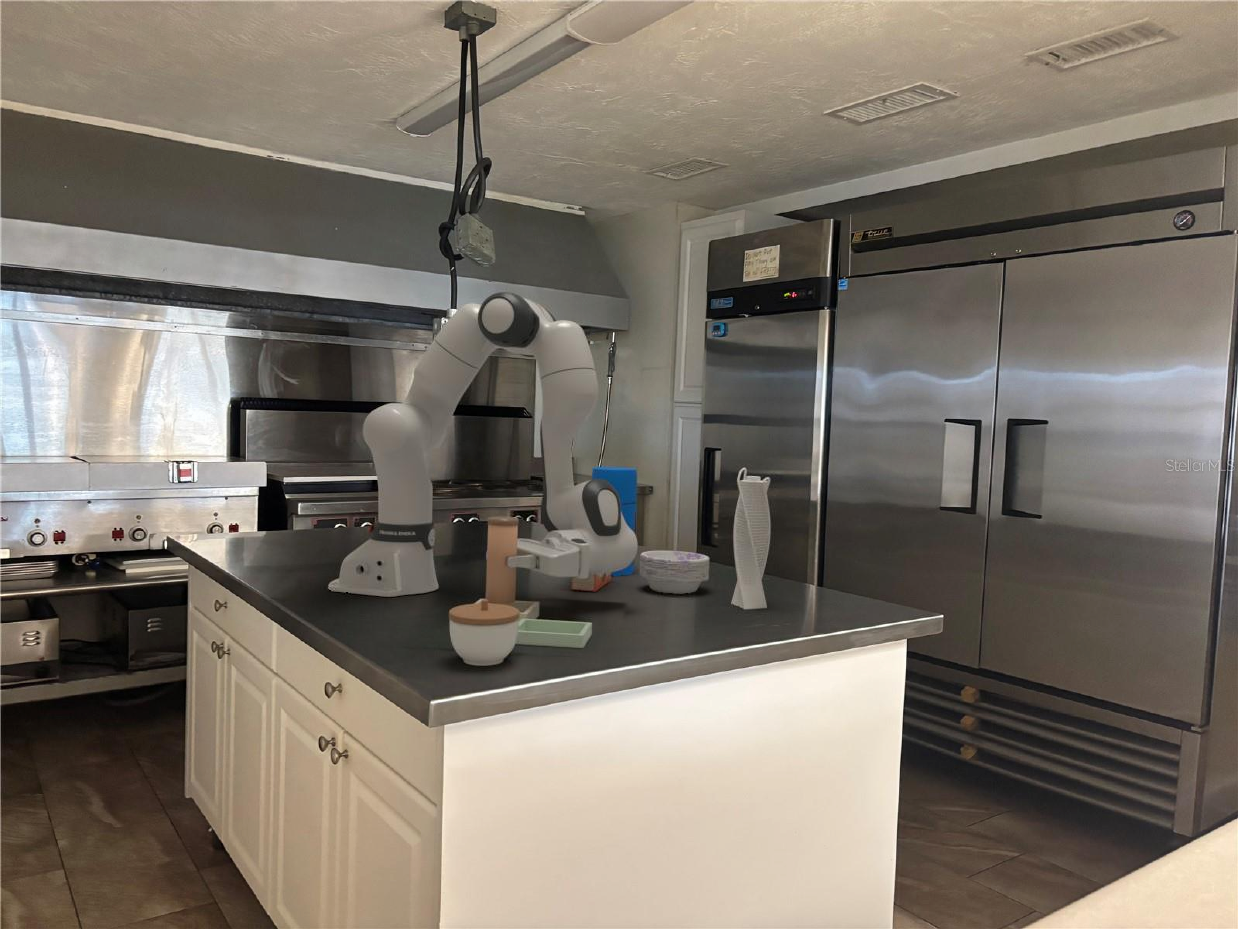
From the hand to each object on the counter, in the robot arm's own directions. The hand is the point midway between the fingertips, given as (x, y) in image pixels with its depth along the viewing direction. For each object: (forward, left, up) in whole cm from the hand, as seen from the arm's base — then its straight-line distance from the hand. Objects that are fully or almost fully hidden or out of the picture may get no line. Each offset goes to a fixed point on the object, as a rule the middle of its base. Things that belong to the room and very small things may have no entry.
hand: (497, 558), depth 160 cm
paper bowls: (+29, +41, -12) cm, 52 cm away
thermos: (+13, +59, -12) cm, 62 cm away
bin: (-5, +1, -12) cm, 13 cm away
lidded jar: (+4, -22, -12) cm, 25 cm away
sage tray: (+12, -10, -12) cm, 20 cm away
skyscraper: (+45, +29, -12) cm, 55 cm away
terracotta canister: (+1, +1, -8) cm, 8 cm away
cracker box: (+11, +41, -12) cm, 44 cm away
